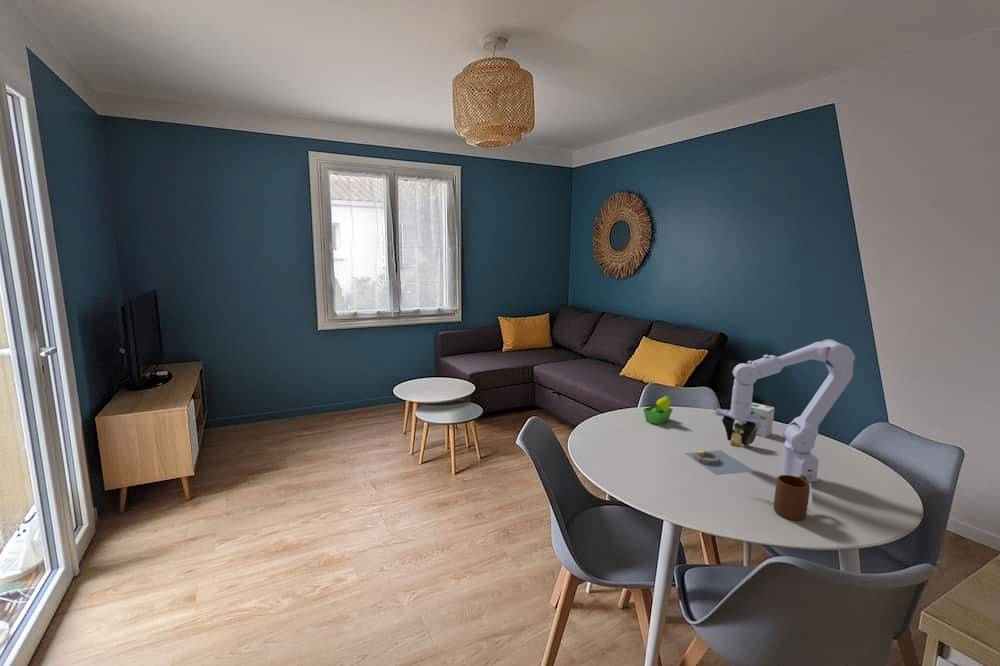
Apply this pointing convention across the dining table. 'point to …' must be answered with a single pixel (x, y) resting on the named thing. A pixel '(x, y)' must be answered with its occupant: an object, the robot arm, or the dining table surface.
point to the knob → (737, 438)
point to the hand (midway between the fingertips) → (737, 441)
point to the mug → (791, 497)
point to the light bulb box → (762, 413)
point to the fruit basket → (659, 411)
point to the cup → (752, 435)
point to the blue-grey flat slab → (719, 462)
